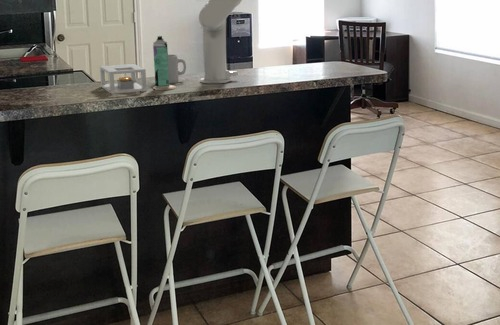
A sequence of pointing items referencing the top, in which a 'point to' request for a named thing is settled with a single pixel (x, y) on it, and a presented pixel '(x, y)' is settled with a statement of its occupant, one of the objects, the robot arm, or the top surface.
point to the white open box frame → (123, 85)
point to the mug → (175, 68)
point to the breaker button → (125, 79)
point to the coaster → (165, 88)
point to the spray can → (161, 63)
